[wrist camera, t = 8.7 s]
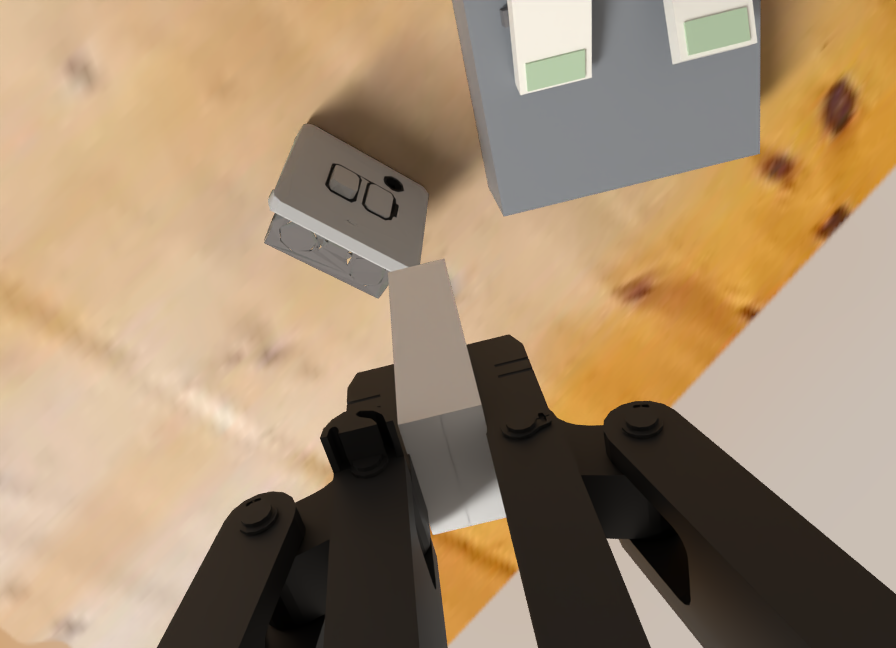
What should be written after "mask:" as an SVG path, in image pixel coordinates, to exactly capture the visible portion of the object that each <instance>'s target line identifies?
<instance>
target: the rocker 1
mask: <svg viewBox="0 0 896 648" xmlns="http://www.w3.org/2000/svg"><path fill="white" fill-rule="evenodd" d="M507 5H508V15H509V25H510V35H511V45H512V55H513V66H514V76H515V84H516V87H517V89H518V91H519V93H520V95H524V94H528V93H532V92H536V91H540V90H544V89H548V88H552V87H556V86H560V85H564V84H568V83H572V82H576V81H580V80H584V79H588V78H592V0H507Z"/></svg>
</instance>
